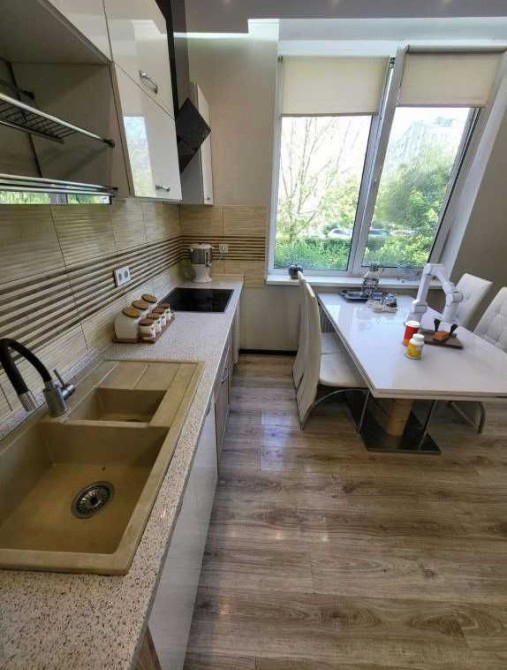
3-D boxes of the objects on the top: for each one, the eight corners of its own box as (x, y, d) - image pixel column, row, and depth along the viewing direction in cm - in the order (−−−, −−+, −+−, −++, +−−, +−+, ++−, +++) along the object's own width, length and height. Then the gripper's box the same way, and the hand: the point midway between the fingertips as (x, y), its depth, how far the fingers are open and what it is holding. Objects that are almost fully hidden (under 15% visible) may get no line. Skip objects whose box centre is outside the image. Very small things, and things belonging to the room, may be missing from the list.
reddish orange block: (440, 342, 165) (442, 335, 163) (432, 339, 168) (434, 333, 166) (449, 338, 170) (451, 331, 168) (441, 335, 174) (443, 329, 172)
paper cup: (413, 342, 169) (419, 321, 163) (416, 347, 162) (422, 326, 156) (399, 340, 171) (405, 319, 165) (401, 345, 164) (407, 324, 159)
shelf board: (423, 343, 168) (425, 337, 166) (419, 333, 181) (421, 327, 180) (461, 349, 161) (464, 343, 160) (454, 338, 175) (456, 333, 173)
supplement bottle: (403, 353, 156) (409, 332, 151) (415, 353, 156) (421, 333, 151) (409, 359, 150) (415, 338, 144) (422, 359, 149) (428, 338, 144)
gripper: (466, 314, 159) (458, 336, 164) (439, 307, 169) (433, 328, 175) (461, 317, 155) (453, 338, 161) (434, 310, 166) (427, 330, 171)
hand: (442, 333), depth 168 cm, fingers open, 7 cm apart
